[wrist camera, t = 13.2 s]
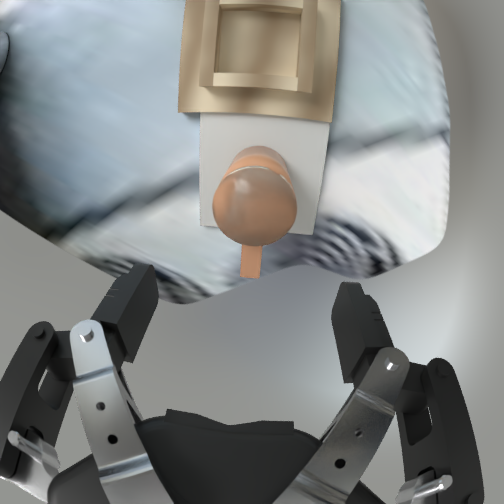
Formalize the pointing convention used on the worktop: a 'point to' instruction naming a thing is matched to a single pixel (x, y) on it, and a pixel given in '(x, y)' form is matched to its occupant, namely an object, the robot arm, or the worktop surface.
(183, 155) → the worktop surface
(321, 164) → the mat
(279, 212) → the tabbed peach cylinder
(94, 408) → the robot arm
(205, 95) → the dock
